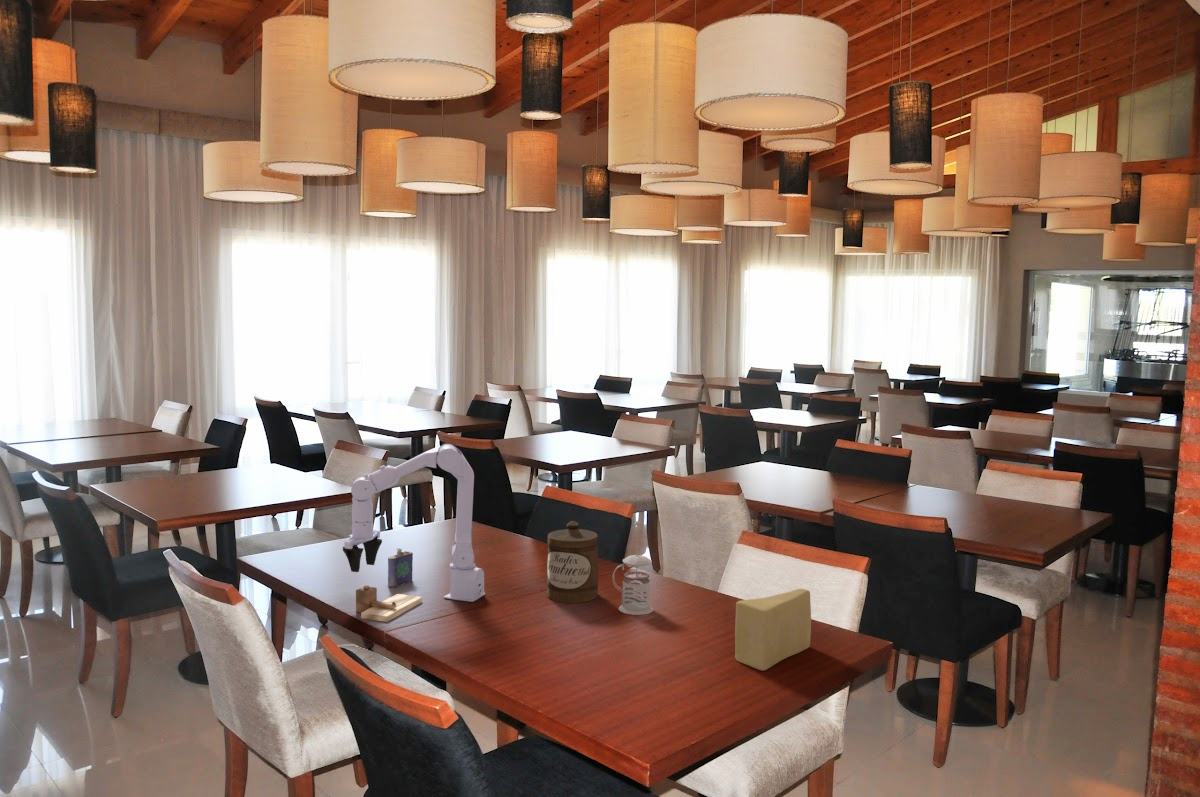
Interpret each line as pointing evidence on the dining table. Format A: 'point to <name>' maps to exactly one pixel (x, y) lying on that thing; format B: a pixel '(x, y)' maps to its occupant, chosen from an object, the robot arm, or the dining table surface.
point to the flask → (400, 568)
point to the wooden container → (572, 565)
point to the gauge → (369, 599)
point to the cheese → (772, 628)
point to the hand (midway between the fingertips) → (362, 568)
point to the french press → (635, 585)
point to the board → (388, 614)
